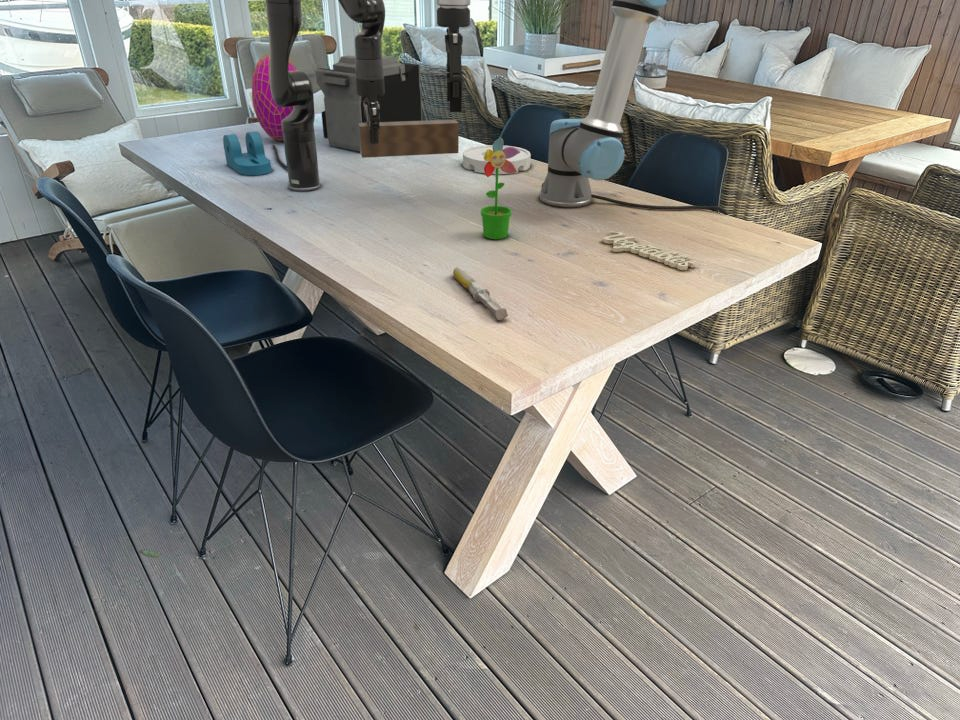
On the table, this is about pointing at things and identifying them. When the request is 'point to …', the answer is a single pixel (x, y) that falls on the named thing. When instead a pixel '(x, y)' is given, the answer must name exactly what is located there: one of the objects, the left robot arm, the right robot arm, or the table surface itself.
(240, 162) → the camera mount
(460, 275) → the syringe
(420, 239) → the table surface
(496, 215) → the potted flower
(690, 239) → the table surface
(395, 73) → the cooler box
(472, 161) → the ashtray
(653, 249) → the decorative sign
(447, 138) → the bar
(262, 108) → the decorative egg
